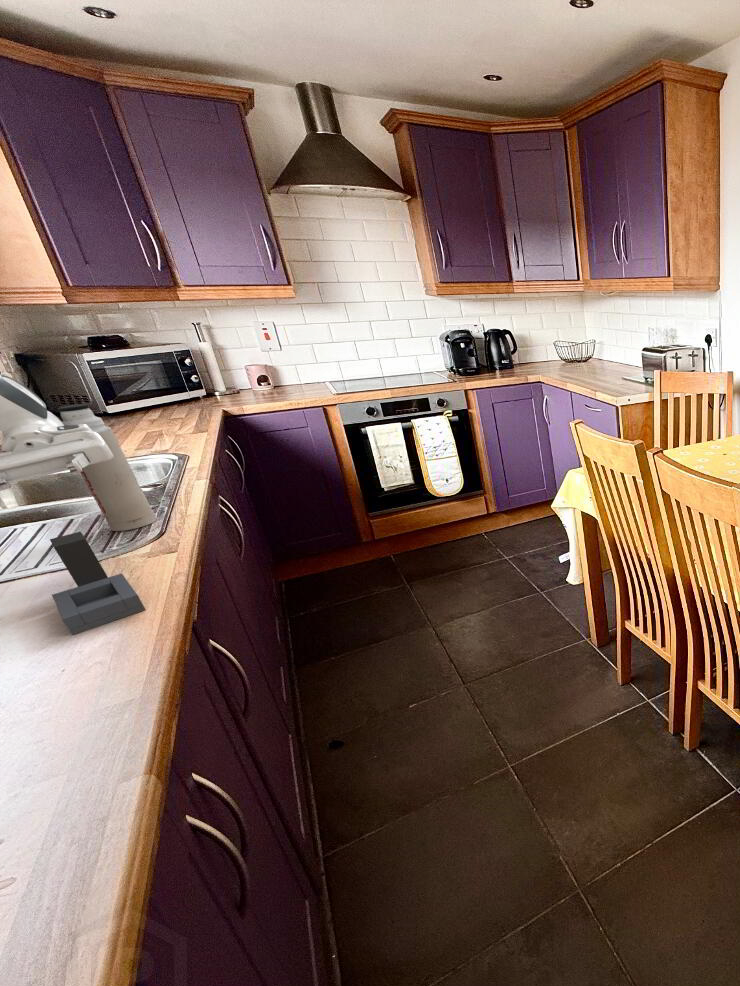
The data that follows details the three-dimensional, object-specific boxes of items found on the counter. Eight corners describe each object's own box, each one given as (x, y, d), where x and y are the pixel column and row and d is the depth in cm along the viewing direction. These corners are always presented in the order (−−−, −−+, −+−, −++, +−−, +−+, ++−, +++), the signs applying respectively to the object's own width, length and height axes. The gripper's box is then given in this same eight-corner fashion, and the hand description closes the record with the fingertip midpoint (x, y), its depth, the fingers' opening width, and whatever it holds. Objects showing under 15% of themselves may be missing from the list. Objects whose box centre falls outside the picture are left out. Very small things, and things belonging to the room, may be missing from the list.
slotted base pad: (61, 609, 101) (51, 594, 100) (129, 587, 107) (121, 573, 106) (72, 635, 93) (62, 619, 92) (146, 609, 99) (137, 594, 98)
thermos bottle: (109, 534, 132) (42, 410, 120) (113, 525, 137) (49, 406, 126) (155, 524, 136) (95, 404, 125) (157, 515, 142) (99, 400, 130)
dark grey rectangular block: (79, 587, 108) (49, 539, 104) (108, 578, 111) (80, 531, 107) (84, 596, 105) (53, 547, 101) (113, 587, 108) (85, 538, 103)
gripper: (-55, 452, 105) (-60, 481, 97) (96, 421, 117) (102, 444, 109) (-29, 482, 109) (-33, 512, 101) (115, 449, 120) (121, 474, 113)
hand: (39, 477), depth 105 cm, fingers open, 8 cm apart
